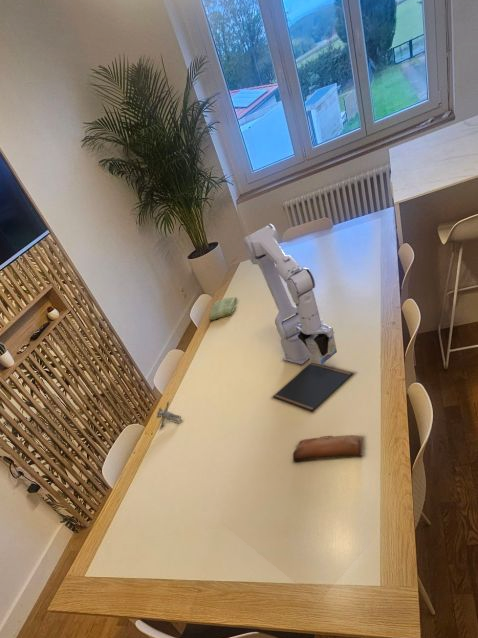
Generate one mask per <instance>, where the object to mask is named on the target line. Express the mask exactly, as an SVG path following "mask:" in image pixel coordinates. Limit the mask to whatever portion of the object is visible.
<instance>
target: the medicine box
mask: <svg viewBox="0 0 478 638" xmlns="http://www.w3.org/2000/svg"><path fill="white" fill-rule="evenodd" d="M334 334H335V333H334ZM334 334H333V335H332V336H331V337H329V341H328V353H326V354H325V355H324V356H323V355H322V354H321V352H320V349H319V347H318V345H317V343H316V342H315V341H314V338H315V337H316V336H317V335H318V334H312V335H311V336H310V337H308V338H307V339H306V344H307V348H308V352H309V356H310V358H309V360H310V364H311V363H315V364H319V365H323V364H325V363H326V362H327V361H328V360H329V359H331V358H332V357H333V356H334V355H336V353H337V352H338V350H337V344H336V341H335V335H334Z"/></svg>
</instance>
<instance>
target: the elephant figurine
mask: <svg viewBox="0 0 478 638" xmlns="http://www.w3.org/2000/svg"><path fill="white" fill-rule="evenodd" d="M169 405H170V401H167V403H166V406H165V408H164V409H163V408H161V407H159V408H158V411H157V413H156V414H157V415H156V419H161V423H160V428H161V429H162V428H163V426H164V422H165V419H166V420H167V421H172V422H175V423H178V424H180V423H181V418H182V416H181V415H178V414H175V413H173V412H171V411H168V408H169Z"/></svg>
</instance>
